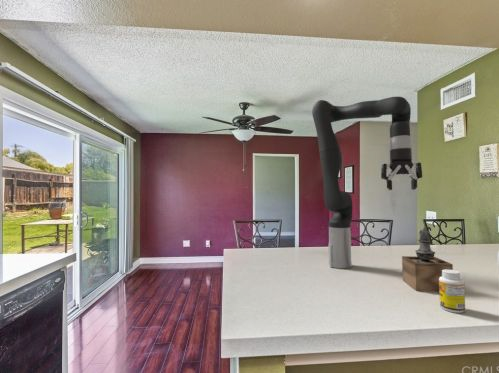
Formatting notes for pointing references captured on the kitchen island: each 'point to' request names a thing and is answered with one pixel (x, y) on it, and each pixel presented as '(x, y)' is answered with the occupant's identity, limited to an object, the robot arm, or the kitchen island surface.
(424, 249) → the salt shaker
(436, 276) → the stand
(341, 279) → the kitchen island surface
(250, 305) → the kitchen island surface
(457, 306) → the supplement bottle
